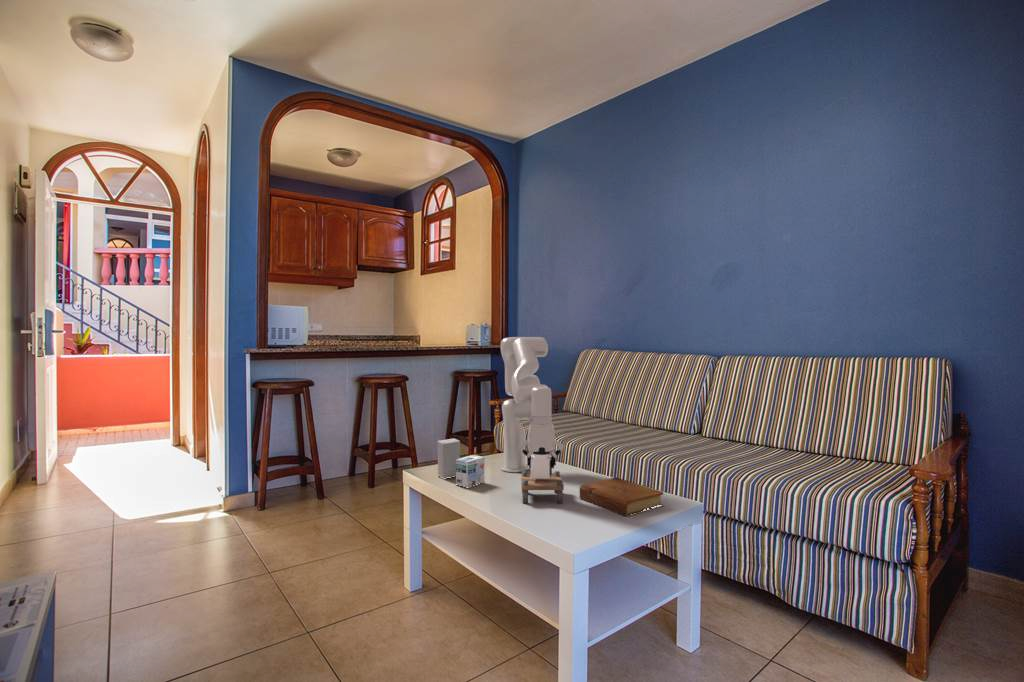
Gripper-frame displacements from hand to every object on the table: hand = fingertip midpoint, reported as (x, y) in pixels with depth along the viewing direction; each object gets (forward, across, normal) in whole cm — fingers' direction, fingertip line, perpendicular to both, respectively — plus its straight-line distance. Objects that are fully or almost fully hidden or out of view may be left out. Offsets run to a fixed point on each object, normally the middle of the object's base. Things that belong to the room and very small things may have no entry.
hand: (541, 467), depth 196 cm
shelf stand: (+11, 0, 0) cm, 11 cm away
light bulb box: (+12, -28, +18) cm, 35 cm away
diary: (+12, +28, -6) cm, 31 cm away
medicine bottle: (+4, 0, 0) cm, 4 cm away
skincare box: (+12, -38, +29) cm, 49 cm away
